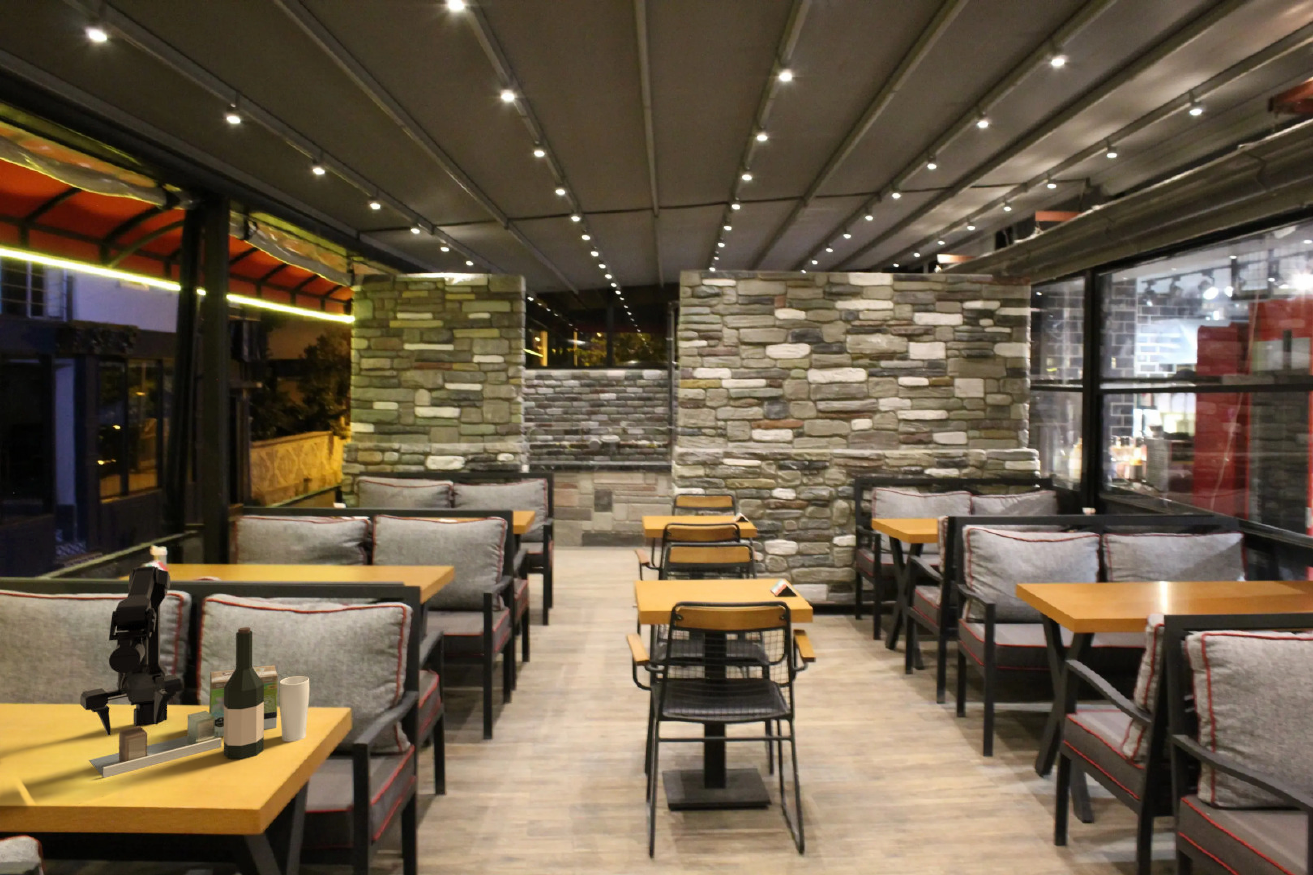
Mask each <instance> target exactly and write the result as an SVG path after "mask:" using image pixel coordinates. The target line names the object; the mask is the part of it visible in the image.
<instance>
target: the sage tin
mask: <svg viewBox="0 0 1313 875" xmlns="http://www.w3.org/2000/svg"><path fill="white" fill-rule="evenodd" d="M187 736H188V740H187V744H188V743H189V744H190V745H193V744H197V743H201V742H205V741H209V740H213V739H216V737H215V717H214V716H213V715H211V714H210V713H209V711H207V710H204V711H202V710H201V711H198V712H194V713H190V714H187Z"/></svg>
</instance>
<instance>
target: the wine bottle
mask: <svg viewBox="0 0 1313 875" xmlns="http://www.w3.org/2000/svg"><path fill="white" fill-rule="evenodd" d="M252 667H253V631H252V630H251V628H250V627H247V626H246V627H245V626H244V627H239V628H238V630H237V632H235V671H234V672H233V674H232V676H231V677H230V679H229V680H228V682H227V683H226V685H225V687H224V736H223V756H224V757H225V758H226V759H227V760H239V761H240V760H245V759H250V758H253V757H257V756H258V755H259V754H261V753H262V752H263V751H264V748H265V747H264V746H265V744H264V742H265V740H264V737H265V736H264V732H265V731H264V683H263V682H262V680H261V679H260V678H259V676H258V675H257V673H256V672H255V670H254V669H253V668H252Z"/></svg>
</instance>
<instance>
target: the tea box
mask: <svg viewBox="0 0 1313 875" xmlns="http://www.w3.org/2000/svg"><path fill="white" fill-rule="evenodd" d="M252 668H253V669H254V670H255V672H256V673H257V675H258V676H259V678H260V679H261V680H262V682H263V683H264V730H271V729H276V728H277V726H278V692H279V688H278V686H279V685H278V684H279V675H278V672H277V669H276V667H275V665H274V664H272V665H263V666H252ZM235 669H236V668H235ZM235 669H226V670H225V669H224V670H218V671H210V676H209V701H208V702H209V709H208V713H210V714H211V715H213V716H214V717H215V738H221V737H224V687H225V685H226V683H227V682H228V680H229V679H230V677H231V676H232V674H233V672H234V671H235Z"/></svg>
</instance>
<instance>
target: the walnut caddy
mask: <svg viewBox="0 0 1313 875" xmlns="http://www.w3.org/2000/svg"><path fill="white" fill-rule="evenodd" d="M147 746H148V732H147V731H146V730H144V728H143V727H142V726H133V727H129V728H124V729H120V730H118V753H119V762H120V763H123V762H127V761H131V760H135V759H138V758H142V757H146V756H147Z"/></svg>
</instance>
